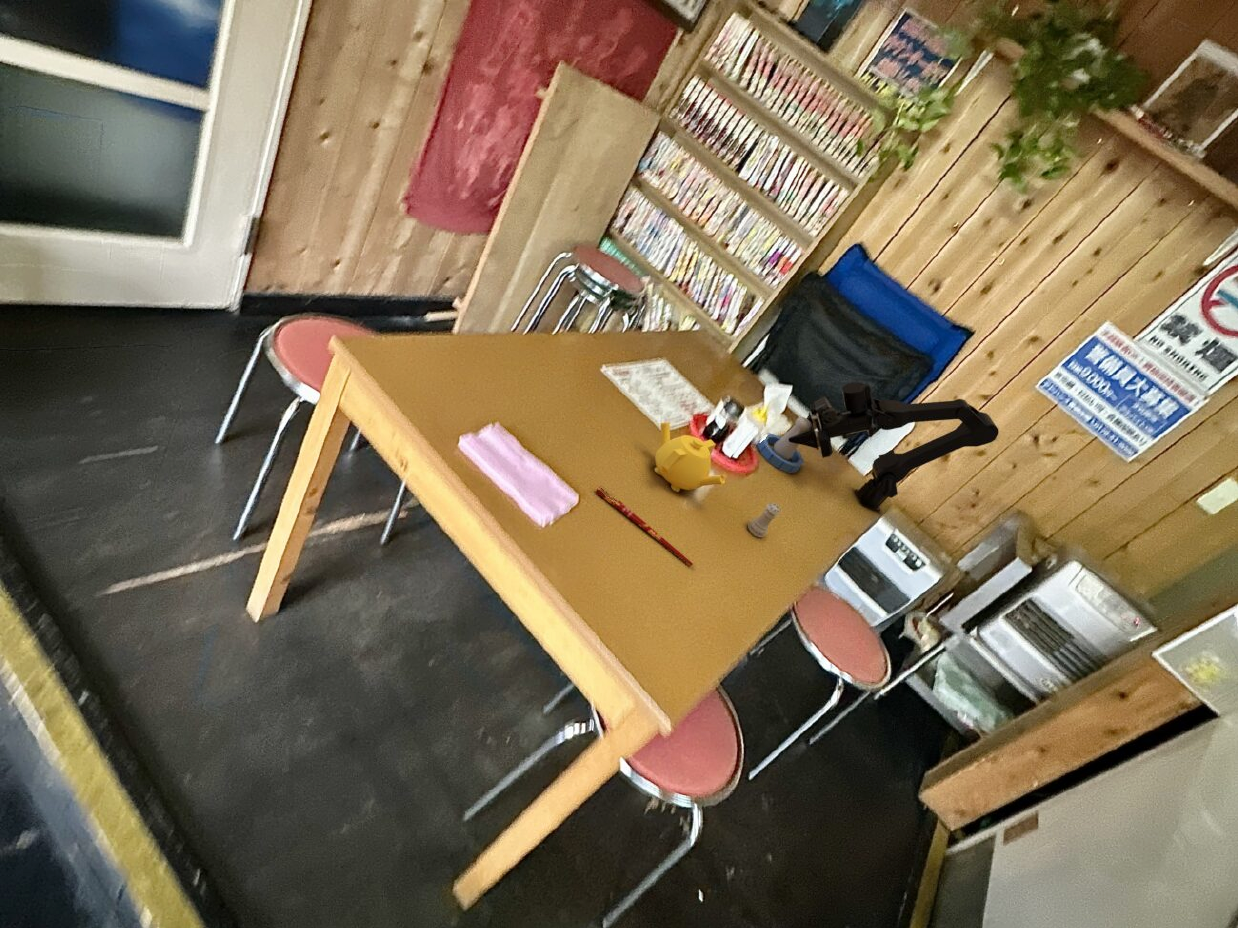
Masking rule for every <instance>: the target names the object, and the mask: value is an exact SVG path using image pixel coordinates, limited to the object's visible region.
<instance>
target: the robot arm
mask: <svg viewBox="0 0 1238 928" xmlns="http://www.w3.org/2000/svg"><path fill="white" fill-rule="evenodd" d="M871 390H872V389H871V386H870V383H869V382H867V383H863V382H858V381H851V382H849V383H846V384H844V385H843V386H842V388H841V394H842V398H843V404H844V408H845V410H846V412H843V413H842V410H839V409H836V410H835V407H834V406H832V404H831V402H829V400H828V399H827V396H822V397H820V398H819V399H817V400H816V401H813V403H811V404H809V408H810V412H808V414H807V417H805V418H806V419H808V420H809V421H810V422H811V424H812V427H811V429H810V430H809V431H808V432H805V433H802V434H799V435H795V436H792V437H790V438H788V439H789V442H792V443H796V444H799V445H802V446H806V447H810V448H813V449H816V451H819V450H820V453H821V456H822V459H823V458H828V457H831V456H832V454H833V447H832V446H833V445H832V439H835V438H839V437H842V439H844V440H845V439H848V435H852V434H857V433H861V432H867V434H868V437H869V438H872V437H873V436H874V434H875V433H876V431H878V428H877V426H878V427H879V428H880V429H881V430H883V431H891V430H895V429H900V428H903V427H904V426H906V425H908V424H912V423H921V422H924V423H925V422H936V421H949V420H951V421H952V420H959V421H960V422H961V423H960V424H959V425H958V426H957V427H956V429H954V430H952V431H949V432H947V433H945V434H943V435H940V436H939V437H937V438H934V439H931V440H929V441H928V442H926V443H922V444H921V445H918V446H917V447H914V448H912V449H910V450H908V451H906V452H903V453H895V451H894V449H891V450H889V451H887V452H886V453H883V454H878V457H876V459H874V460H873V463H872V465H871V466H872V471H871V475H872V478H869V480H867V482H864V484H863V485H861V487H860V488H859V489H857V488H856V489H854V492H855V495H856V496H857V498H858V500H859V503H860V504H861V506H863V507H865V508H868V509H870V510H873V511H876V512H878V513H880V512H881V509H880V506H881V505H882V504H883V503H885V501H886V500H887V499H888V498H890V499H892V498H894V497H896V496H897V495H898V494H899V491H898V487H897V484H898V483H900V482H901V481H903V480H904V479H905V478H906V477H907V476H908V475H909V474H910V472H911V471H913V470H914V469H917V468H919V467H921V466H924V465H926V464H928V463H930V462H932V461H935V460H937V459H939V458H941V457H944V456H946V455H949V454H951V453H953V452H956V451H958V450H960V449H962V448H965V447H967V448H969V447H970V448H973V447H974V448H975V447H981V446H984V445H988V444H991V443H993V442H994V441H996V440H997V437H998V436H999V433H1000V430H999V427H998V426H997V425H996V423H995V422H994V420H993V419H992V417H991V416H990V415H989V414H988V413H986V412H983V411H979V410H978V409H977V408H976V407H975V406H973V405H971V404H969V403H968V401H966V399H962V398H956V399H955V400H944V401H930V402H929V401H928V402H916V403H906V402H903V401H899V400H892V399H891V400H890V399H882V400H881V399H878V398H875V397H872V396H871ZM868 411H869V412H870V413H869V412H868ZM874 421H875V422H876V423H874ZM792 428H793V427H792ZM792 428H790V429H792ZM790 429H788V430H787V431H786V433H787V432H788V431H789V430H790Z"/></svg>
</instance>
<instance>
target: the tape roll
mask: <svg viewBox="0 0 1238 928" xmlns="http://www.w3.org/2000/svg"><path fill="white" fill-rule="evenodd" d="M768 434H769V435H768V436H767V437H766V439H765V440H763V441H762V442H761V443H759V442H758V443H757V448H758V451H759V452H760V454H761V455H762V456H763V458H764V459H765V460H766V461H768V463H769V464H771V465H772V466H774V467H775V468H777V469H778V470H780V471H782V472H785V473H787V474H788V473H789V474H795V473H797V472H798V471H799V470H800V469H801V467H803V465H804V458H803V456H802V454H801V452H800V451H799V450H798V448H797V449H796V451H795V453H794V455H793V457H792V458H790V460H791V461H789V460H784V459H782V458H781V457H780V456H778V455H777V454H775V453H774V451H773V448H771V446H770V445H772V446H774V445H775V443H776V442H777V441H778V440H779V439H780V438H782V436H779V435H777V434H774V433H768Z"/></svg>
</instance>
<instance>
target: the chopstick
mask: <svg viewBox="0 0 1238 928" xmlns="http://www.w3.org/2000/svg"><path fill="white" fill-rule="evenodd" d="M600 487H601V486H599V487H598V488H600ZM598 488H597V489H596V490H595V493H596V494H598V496H600V497H602V499H604V500H605V501H607V502H608V503H609V504H611V505H612V506H613V507H615V509H617V510H618V511H620V512H621V513H622V514H623V515H624V516H626V517H627V518H629V520H631V521H633V522H634V523H635V524H637V525H638V526H639V527H640V528H641V529H643V530H644V531H645V532H647V533H648V534H649V535H650V536H652V537H653V538H655V539H656V541H658V542H659V543H661V545H663V546H665V547H666V548H667V549H668V550H670V551H671V552H673V553H674V554H675V555H676V556H678V557H679V558H680V559H682V561H684V562H685V563H687V564H688V565H689V566H691V567H692V566H693V565H694V563H693V562H692V561H691V560H689V558H687V557H686V556H685V555H684V554H683V553H681V552H680V551H679V550H678V549H677V548H675V547H674V546H673V545H672V544H670V543H669V542H668V541H667V540H666V539H665V538H664V537H663V536H661V534H659V533H658V532H657V531H655V530H654V528H652V527H651V526H650V525H649V524H647V523H646V522H645V521H644V520H643V519H642V518H640V517H639V516H638V515H637V514H636V513H634V512H633V511H632V510H631V509H630V508H629V507H628V506H627V505H625V504H624V503H623V502H622V501H621V500H619V501H617V500H615V499H614V498H613V497H612V496H610V495H609V494H608V493H607V492H606V493H607V494H608V495H609V496H610V497H612V498H613V499H614V500H615V501H616V503H615V502H614V501H613V500H611V499H610V498H609V497H607V496H606V495H605V494H603V493H602V492H601V491H600V490H598ZM601 489H602V488H601ZM602 490H603V489H602ZM603 491H604V490H603ZM613 496H614V497H616V496H615V495H613Z"/></svg>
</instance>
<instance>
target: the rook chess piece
mask: <svg viewBox="0 0 1238 928" xmlns="http://www.w3.org/2000/svg"><path fill="white" fill-rule="evenodd" d="M780 511H781V508H780V505H778V504H777V503H776V502H770V503H768V504H767V505H766V509H764V510H763V512H762V513H761V514H760V516H758V517H756V518H753V519H752V520H750V522H749V523H748V524H747V529H748V532H750V533H751V535H753V536H754V537H756V538H763V537H765V535H766V534H767V533H768V529H769V526H770V524H771V522H772V521H773V520H774V519H775V518H776V516H779V515H780Z"/></svg>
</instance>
